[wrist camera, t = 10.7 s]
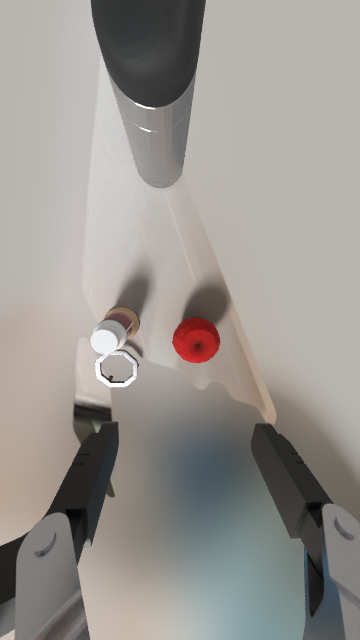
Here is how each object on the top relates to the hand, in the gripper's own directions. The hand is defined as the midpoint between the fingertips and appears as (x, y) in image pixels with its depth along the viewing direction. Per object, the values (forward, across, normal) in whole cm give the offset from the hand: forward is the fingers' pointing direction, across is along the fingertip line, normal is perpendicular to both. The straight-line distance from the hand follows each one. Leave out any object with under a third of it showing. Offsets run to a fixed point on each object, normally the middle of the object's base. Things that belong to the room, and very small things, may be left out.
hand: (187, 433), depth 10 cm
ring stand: (+32, +13, +15) cm, 38 cm away
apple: (+32, -5, +5) cm, 33 cm away
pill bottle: (+32, +12, +4) cm, 34 cm away
